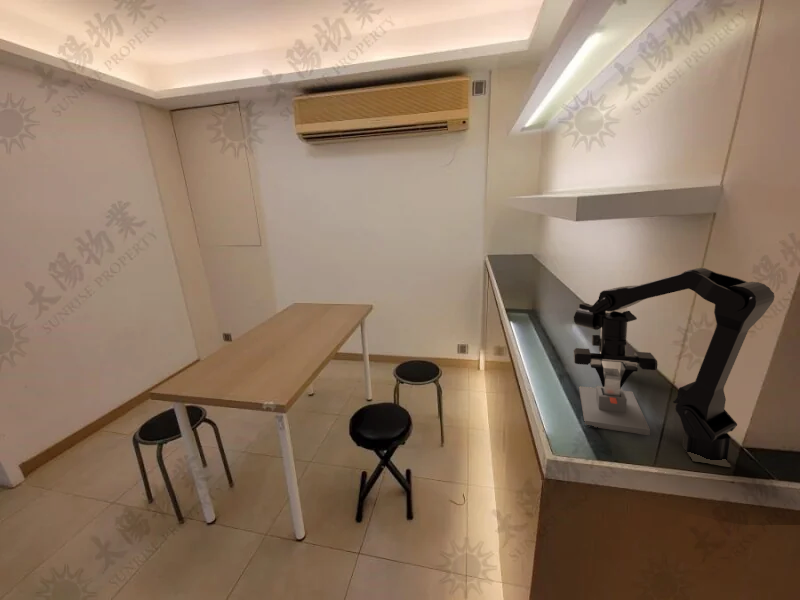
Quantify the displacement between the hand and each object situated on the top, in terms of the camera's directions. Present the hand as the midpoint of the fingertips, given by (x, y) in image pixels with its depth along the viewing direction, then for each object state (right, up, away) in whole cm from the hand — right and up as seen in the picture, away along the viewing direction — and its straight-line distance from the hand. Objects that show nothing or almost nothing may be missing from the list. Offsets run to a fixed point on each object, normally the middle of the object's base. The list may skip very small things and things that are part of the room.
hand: (611, 386), depth 91 cm
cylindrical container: (+15, -1, +24) cm, 28 cm away
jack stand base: (+1, -7, +1) cm, 7 cm away
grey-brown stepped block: (0, -5, +1) cm, 5 cm away
